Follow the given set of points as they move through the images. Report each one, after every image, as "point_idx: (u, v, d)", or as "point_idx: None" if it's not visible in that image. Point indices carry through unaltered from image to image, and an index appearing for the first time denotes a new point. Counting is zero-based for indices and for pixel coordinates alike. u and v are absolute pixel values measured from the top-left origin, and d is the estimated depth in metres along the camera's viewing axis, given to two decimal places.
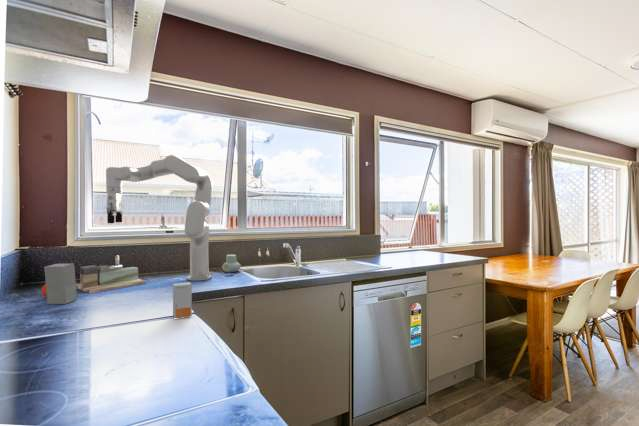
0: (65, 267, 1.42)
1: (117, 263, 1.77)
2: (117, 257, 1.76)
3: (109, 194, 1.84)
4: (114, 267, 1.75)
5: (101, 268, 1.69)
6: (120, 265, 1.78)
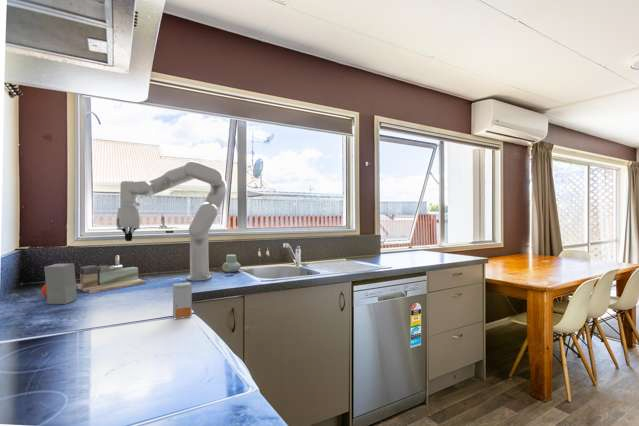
0: (65, 267, 1.42)
1: (117, 263, 1.77)
2: (117, 257, 1.76)
3: None
4: (114, 267, 1.75)
5: (101, 268, 1.69)
6: (120, 265, 1.78)
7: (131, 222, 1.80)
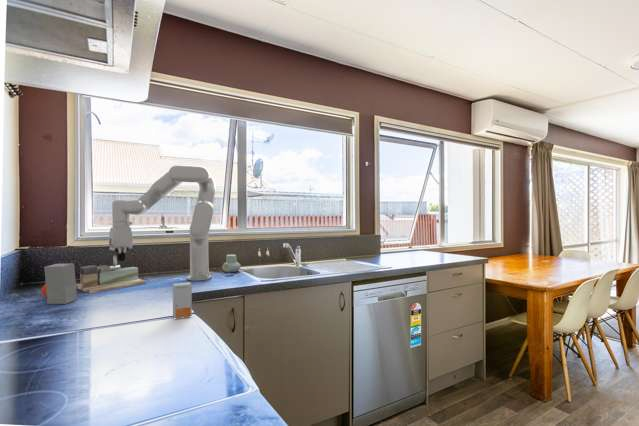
0: (65, 267, 1.42)
1: (115, 263, 1.76)
2: (115, 257, 1.76)
3: None
4: (112, 267, 1.74)
5: (101, 268, 1.69)
6: (118, 265, 1.77)
7: (124, 242, 1.77)
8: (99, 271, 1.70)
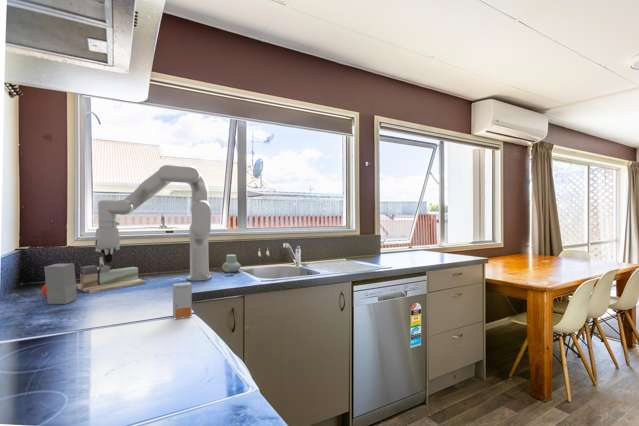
0: (65, 267, 1.42)
1: (101, 265, 1.71)
2: (101, 259, 1.71)
3: None
4: (98, 269, 1.70)
5: (101, 268, 1.69)
6: None
7: (110, 243, 1.72)
8: None
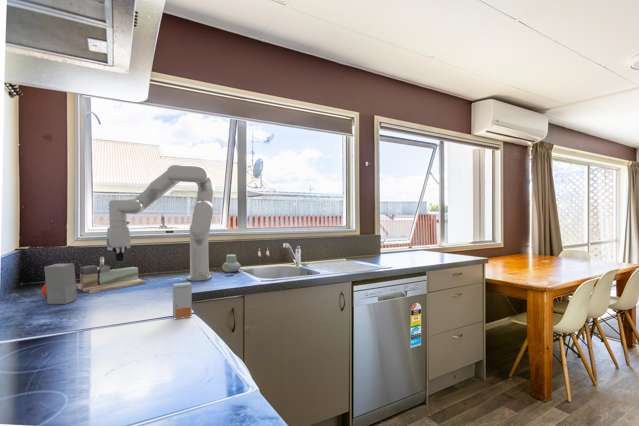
0: (65, 267, 1.42)
1: (102, 265, 1.71)
2: (102, 259, 1.71)
3: None
4: (98, 269, 1.70)
5: (101, 268, 1.69)
6: None
7: (121, 241, 1.76)
8: None
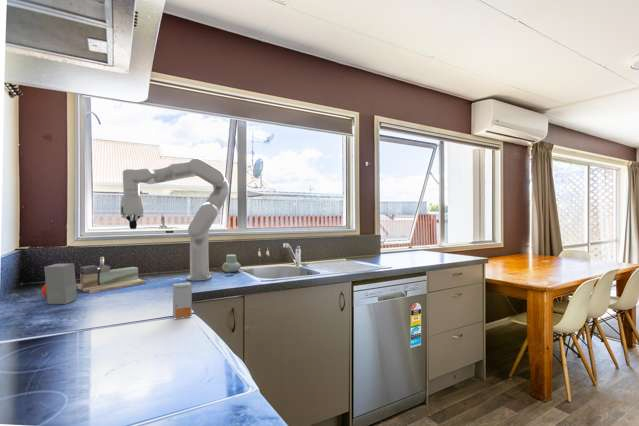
0: (65, 267, 1.42)
1: (102, 265, 1.71)
2: (102, 259, 1.71)
3: None
4: (98, 269, 1.70)
5: (101, 268, 1.69)
6: None
7: (135, 210, 1.82)
8: None
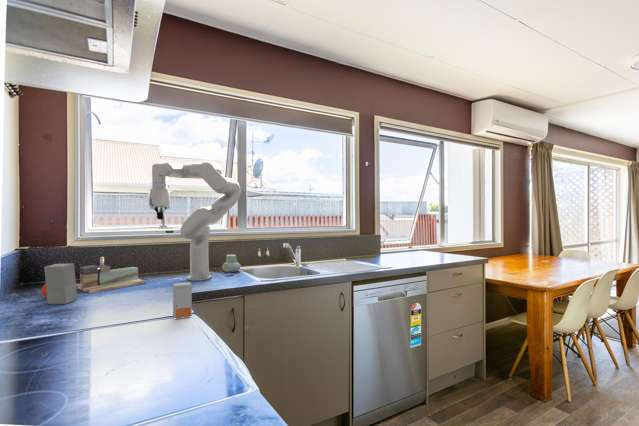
0: (65, 267, 1.42)
1: (102, 265, 1.71)
2: (102, 259, 1.71)
3: None
4: (98, 269, 1.70)
5: (101, 268, 1.69)
6: None
7: (162, 202, 1.95)
8: None
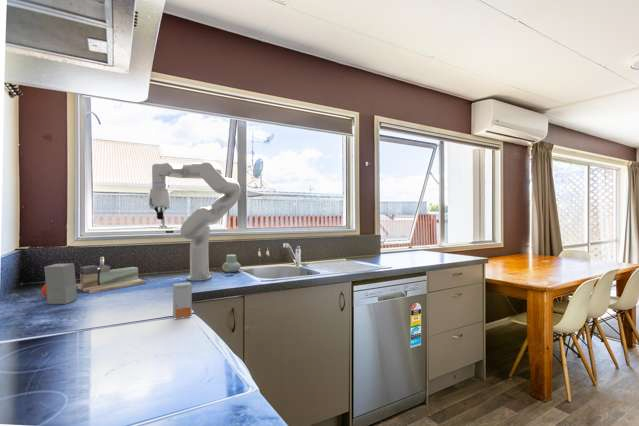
0: (65, 267, 1.42)
1: (102, 265, 1.71)
2: (102, 259, 1.71)
3: None
4: (98, 269, 1.70)
5: (101, 268, 1.69)
6: None
7: (162, 202, 1.95)
8: None
